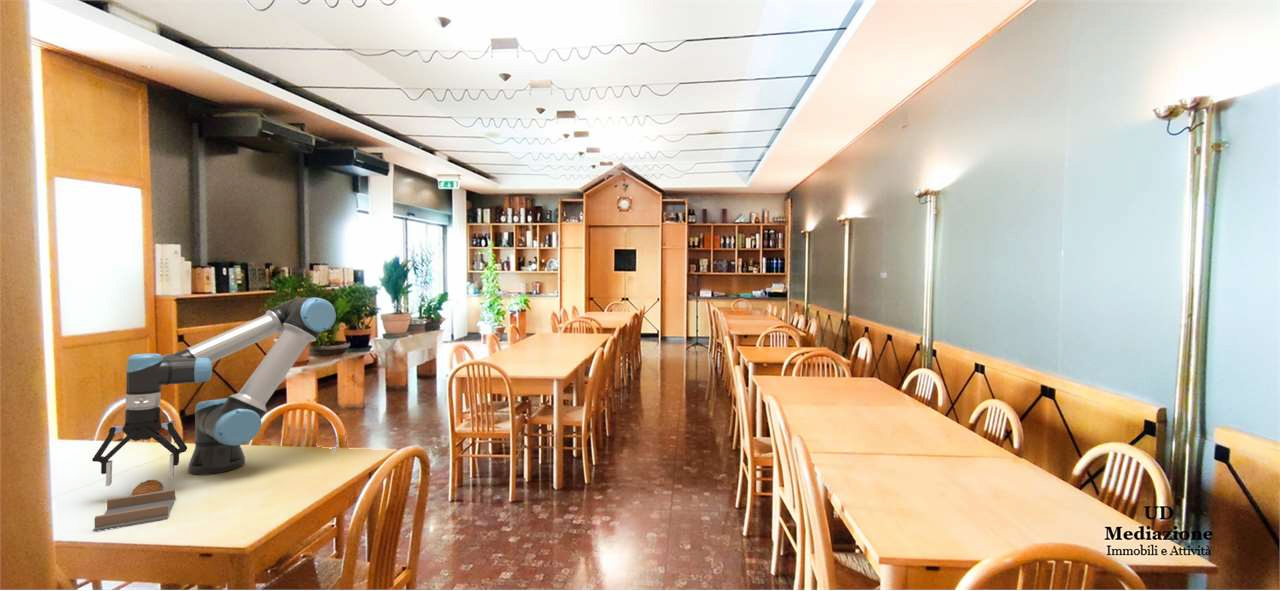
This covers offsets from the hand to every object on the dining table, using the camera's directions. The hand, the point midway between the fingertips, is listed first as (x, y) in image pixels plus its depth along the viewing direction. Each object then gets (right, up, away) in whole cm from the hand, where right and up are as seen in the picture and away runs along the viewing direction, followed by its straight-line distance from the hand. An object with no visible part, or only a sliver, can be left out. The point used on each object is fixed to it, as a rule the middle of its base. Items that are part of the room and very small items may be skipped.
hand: (140, 480), depth 159 cm
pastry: (+1, -5, +1) cm, 5 cm away
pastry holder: (+10, -5, -12) cm, 17 cm away
